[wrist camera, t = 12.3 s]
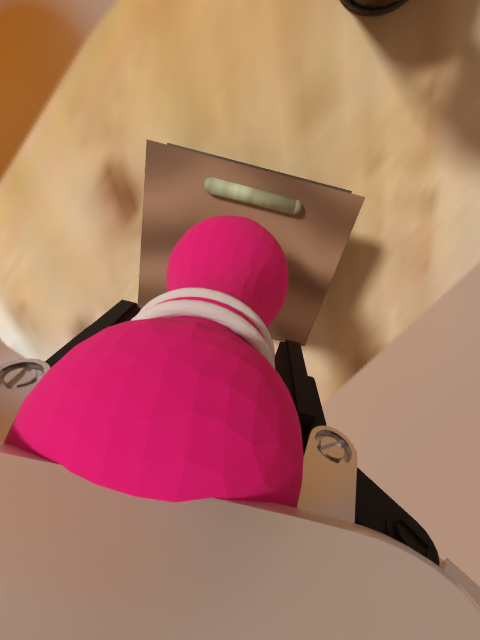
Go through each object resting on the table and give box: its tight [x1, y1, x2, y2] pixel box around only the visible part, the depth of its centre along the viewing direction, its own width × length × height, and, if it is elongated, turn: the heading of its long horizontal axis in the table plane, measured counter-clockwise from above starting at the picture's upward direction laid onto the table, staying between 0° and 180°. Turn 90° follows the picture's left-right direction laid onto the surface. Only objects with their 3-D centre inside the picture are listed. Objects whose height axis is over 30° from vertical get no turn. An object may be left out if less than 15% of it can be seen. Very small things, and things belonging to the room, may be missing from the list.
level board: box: [138, 140, 365, 346], centre depth 25 cm, size 15×18×2 cm
